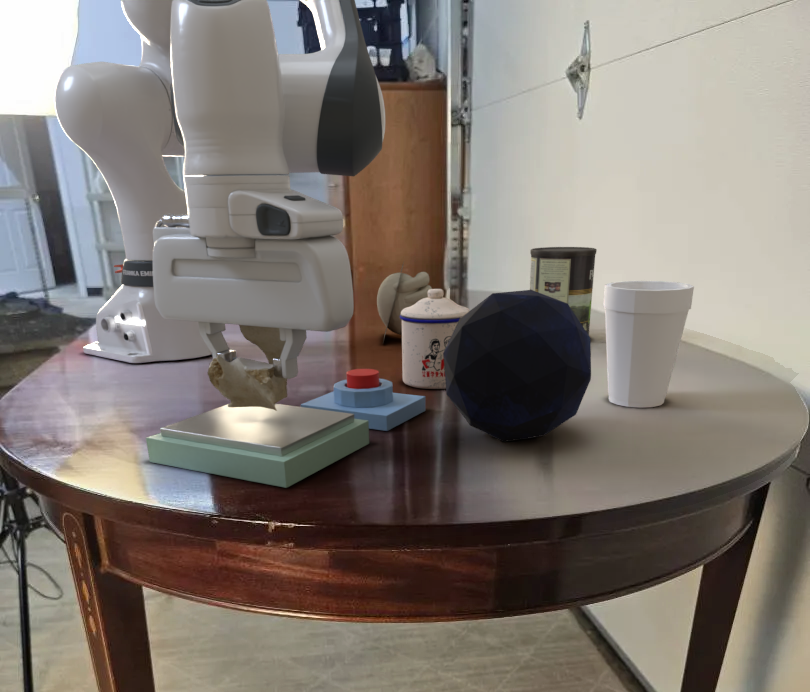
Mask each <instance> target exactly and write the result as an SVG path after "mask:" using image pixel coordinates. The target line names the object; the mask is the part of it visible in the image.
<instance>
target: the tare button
mask: <svg viewBox="0 0 810 692" xmlns="http://www.w3.org/2000/svg"><path fill="white" fill-rule="evenodd" d="M379 379H380V371H379V370H378V369H374V368H355V369H350V370H348V371H346V380H347V387H348V388H353V389H369V388H376V387H379Z"/></svg>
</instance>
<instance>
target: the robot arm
mask: <svg viewBox="0 0 810 692" xmlns="http://www.w3.org/2000/svg"><path fill="white" fill-rule="evenodd" d="M299 1H300V2H301V3H302V4H304V5H306V7H307V8H309V10H310V11H311V13H312V16H313V20H314V25H315V29H316V33H317V37H318V42H319V45H320V50H318V51H315V52H311V53H279V50H278V44H277V38H276V33H275V28H274V23H273V17H272V13H271V9H270V6H269V2H268V0H120V5H121V8H122V11H123V14H124V16H125V17H126V20H127V21H128V22H129V24H130V25H131V27H132V28H133V29H134V31H136V32H137V33H138V34H139V35H140V40H141V60H140V63H139V64H138V66H137V65H129V64H122V63H115V62H109V61H94V62H85V63H84V62H83V63H80V64H73V65H69V66H67V67H66V68H65V69H64V70H62V72H61V73H60V74H59V77H58V79H57V82H56V84H55V88H54V94H53V95H54V96H53V104H54V110H55V114H56V118H57V120H58V122H59V125H60V127H61V129H62V130H63V132H64V133H65V135H66V136H67V137H68V139H69V140H70V141H71V142H72V143H73V144H74V145H76V146H77V147H78V148H79V149H81V150H82V151H83V152H84V153H85V154H86V155H87V156H88V157H89V158H90V160H91V161H92V162H93V164H94V165H95V166H96V168H97V169H98V171H99V172H100V173H101V175H102V177H103V179H104V181H105V183H106V185H107V187H108V190H109V191H110V194H111V196H112V199H113V201H114V205H115V207H116V212H117V218H118V221H119V226H120V231H121V237H122V243H123V248H124V254H125V255H124V256H125V259H124V260H123V263H122V264H114V265H113V268H120V269H117V270H114V273H115V274H121V277H120V284H121V286H120V287H119V288H118V289H117V290H116V291H115V293H114V294H113V295H112V296H111V298H109V300H107V302H106V303H105V304H104V305H103V306H102V307H101V308H100V309H99V310H98V312H97V313H96V317H95V329H96V337H97V341H94V342H92V343H89V344H87V345H85V346H83V353H84V354H87V355H91V356H95V357H96V356H97V357H102V358H105V359H109V360H110V359H111V360H116V361H120V362H124V363H129V364H142V363H151V362H153V363H154V362H165V361H179V360H189V359H191V360H192V359H196V358H197V359H198V358H202V357H207V356H212V360H213V359H214V358H217V356H218V355H219V356H221V357H222V358H223V359H224V360H225V361H227V362H232V361H233V360H235V359H237V358H238V354H237V350H235V349H230V347H229V345H228V342H227V341H226V338H225V336H224V334H223V332H225V331H226V325H234V326H235V325H236V326H239V325H247V326H259V327H272V328H279V331H280V340H281V341H286V342H285V345H284V348H283V351H282V354H281V356H280V357H277V358H274V359H273V367H274V368H275V369H274V375H275V377H278V378H286V379H287V380H291V379H294V378H296V377H297V376H298V374H299V368H298V367H299V366H298V357H299V356H300V354H301V351H302V348H303V347H304V345H305V342H306V340H307V338H308V337H307V331H311V332H323V333H326V332H327V333H328V332H333V331H336V330H340V329H343V328H346V326H348V324H349V323H350V321H351V319H352V318H353V315H354V311H355V309H354V304H355V303H354V290H353V289H354V288H353V278H352V271H351V263H350V258H349V255H348V251H347V248H346V247H345V245H344V244H343V242H342V241H341V240H340V239H338V238H337V237H336V236H337V235H339V234H341V233H342V232H343V229H344V215H343V212H342V210H340V209H339V208H338V207H336V206H334V205H332V204H329V203H326V202H324V201H321V200H319V199H316V198H314V197H311V196H309V195H306V194H304V193H302V192H300V191H297V190H296V189H295V190H294V189H291V178H290V174H299V173H300V174H302V173H303V174H304V173H306V174H307V173H308V174H311V173H319V174H321V175H331V176H341V177H342V176H343V177H355V176H357V175H358V174H359V173H361V172H362V171H363V170H364V169H365V168H367V167H368V166H369V165H370V164H371V163H373V161H374V160H375V159H376V158H377V157H378V156H379V154H380V153H381V151H382V150H383V142H384V138H385V132H386V108H385V101H384V95H383V92H382V88H381V85H380V83H379V80H378V78H377V75H376V72H375V68H374V65H373V62H372V59H371V57H370V53H369V50H368V48H367V47H368V46H367V44H366V41H365V37H364V31H363V27H362V24H361V19H360V17H359V13H358V8H357V3H356V0H299ZM163 157H184V160H183V164H182V165H183V166H182V177H183V184H184V189H182V188H181V187H179V186H178V185H177V184H176V182H175V181H174V180H173V178H172V176H171V174H170V172H169V171H168V169H167V166H166V163H165V161H164V158H163Z"/></svg>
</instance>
